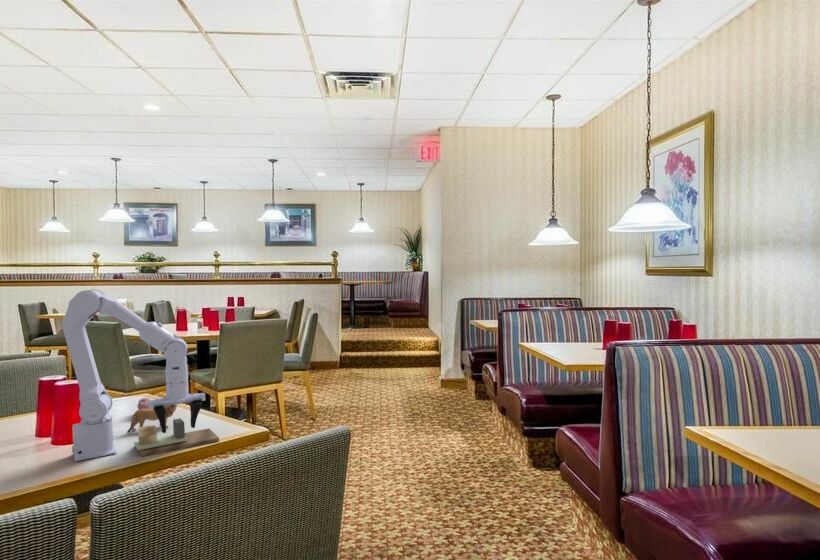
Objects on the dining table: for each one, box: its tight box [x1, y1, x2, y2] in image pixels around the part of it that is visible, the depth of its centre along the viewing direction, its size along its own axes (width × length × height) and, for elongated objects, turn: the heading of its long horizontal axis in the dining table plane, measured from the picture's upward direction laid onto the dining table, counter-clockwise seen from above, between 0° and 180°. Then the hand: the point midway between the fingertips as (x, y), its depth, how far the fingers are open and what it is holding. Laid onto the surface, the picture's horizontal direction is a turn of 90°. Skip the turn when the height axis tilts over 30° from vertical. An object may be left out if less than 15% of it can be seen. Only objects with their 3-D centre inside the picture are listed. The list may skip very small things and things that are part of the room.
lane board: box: [137, 428, 220, 458], centre depth 151 cm, size 20×11×1 cm, turn 124°
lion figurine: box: [126, 404, 178, 433], centre depth 165 cm, size 15×5×9 cm, turn 132°
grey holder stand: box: [133, 417, 188, 451], centre depth 148 cm, size 12×7×5 cm, turn 124°
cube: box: [137, 424, 158, 446], centre depth 146 cm, size 4×4×4 cm
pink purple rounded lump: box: [136, 397, 151, 410], centre depth 182 cm, size 10×5×7 cm, turn 18°
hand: (178, 429), depth 151 cm, fingers open, 7 cm apart
